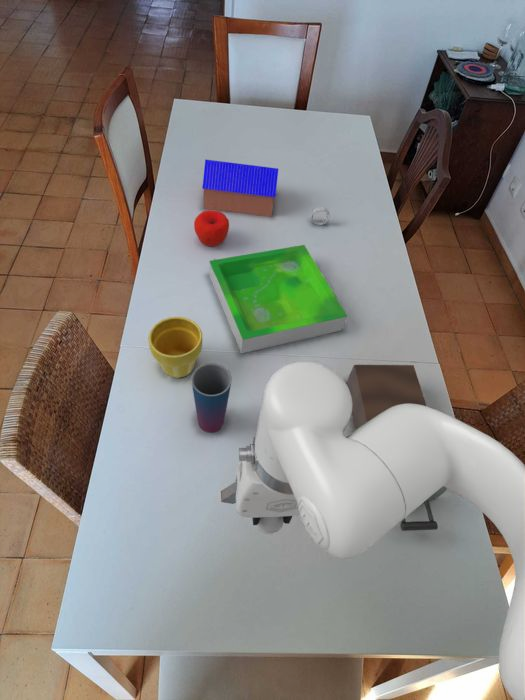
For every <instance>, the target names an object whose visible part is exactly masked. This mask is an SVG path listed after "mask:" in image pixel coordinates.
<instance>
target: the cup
mask: <svg viewBox="0 0 525 700" xmlns="http://www.w3.org/2000/svg"><path fill="white" fill-rule="evenodd" d="M232 382H233V379H232V373H231V372H230V370H229V369H228V368H227V367H225V365H223V364H220V363H217V362H206V363H203V364H201V365H199V366H197V368H196V369H194V371H192V374H191V386H192V393H193V401H194V406H195V412H196V418H197V419H196V420H197V424H198V427H199V428H200V429H201V430H202V431H204V432H206V433H211V434H212V433H216V432H218V431H220V430H221V429H222V428H223V425H224V422H225V417H226V413H227V407H228V402H229V397H230V393H231V388H232Z"/></svg>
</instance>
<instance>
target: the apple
mask: <svg viewBox="0 0 525 700" xmlns="http://www.w3.org/2000/svg"><path fill="white" fill-rule="evenodd" d="M193 228H194V232H195V235H196V237H197V239H198V240H199V241H200V243H201V244H202V245H203V246H206V247H218V246H219V245H221V244H222V243H223V242H224V241H225V240H226V238H227V236H228V233H229V229H230V221H229V218H228V217H227V216H226V215H225V214H224V213H223V212H222V211H219V210H211V209H207V210H203V211H202V212H200V213H199V214H198V215H197V216H196V217H195V218H194V222H193Z"/></svg>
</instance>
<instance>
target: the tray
mask: <svg viewBox="0 0 525 700" xmlns="http://www.w3.org/2000/svg"><path fill="white" fill-rule="evenodd" d="M209 278H210V280H211V281H210V282H211V284H212V285H213V288H214V290H215V293H216V295H217V298H218V300H219V302H220V305H221V308H222V310H223V312H224V315H225V318H226V320H227V322H228V325H229V327H230V329H231V333H232V334H233V337H234V339H235V342H236V345H237V347H238V349H239V352H240V354H246V353H250V352H254V351H260V350H263V349H267V348H272V347H276V346H280V345H284V344H285V345H286V344H289V343H293V342H297V341H303V340H306V339H310V338H314V337H319V336H324V335H328V334H333V333H336V332H340V331H341V332H342V331H343V329H344V327H345V324H346V321H347V318H348V315H347V313H346V311H345V310H344V307H343V306H342V305H341V303H340V302H339V300H338V298H337V297H336V295H335V293H334V292H333V290H332V288H331V286H330V285H329V282H327V280H326V279H325V277H324V275H323V273H322V271H321V270H320V268H319V267H318V265H317V263H316V261H315V259H314V258H313V257H312V255H311V254H310V252H309V251H308V248H307V247H306V245H305V244H301V245H295V246H289V247H283V248H278V249H271V250H266V251H259V252H253V253H247V254H241V255H235V256H230V257H229V256H228V257H223V258H217V259H210V260H209Z"/></svg>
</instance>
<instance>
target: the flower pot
mask: <svg viewBox="0 0 525 700" xmlns="http://www.w3.org/2000/svg"><path fill="white" fill-rule="evenodd" d="M148 345H149V351H150V353H151V356H152V357H153V358H154V359H155V361H157V363H158V364H159V365H160V367H161V368H162V371H163V372H164V373H165V374H166V375H167V376H169V377H172V378H177V379H178V378H184V377H186V376H188V375H190V374H191V373H192V372H193V370H194V368H195V364H196V361H197V358H199V356H200V354H201V352H202V350H203V331H202V329H201V328H200V326H199V325H198V323H196V322H195V321H193V320H192V319H189V318H188V317H187V318H186V317H182V316H171V317H166V318H164V319H161V320H160V321H158V322H156V323H155V324H154V325H153V326H152V327H151V329H150V331H149V334H148Z"/></svg>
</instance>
